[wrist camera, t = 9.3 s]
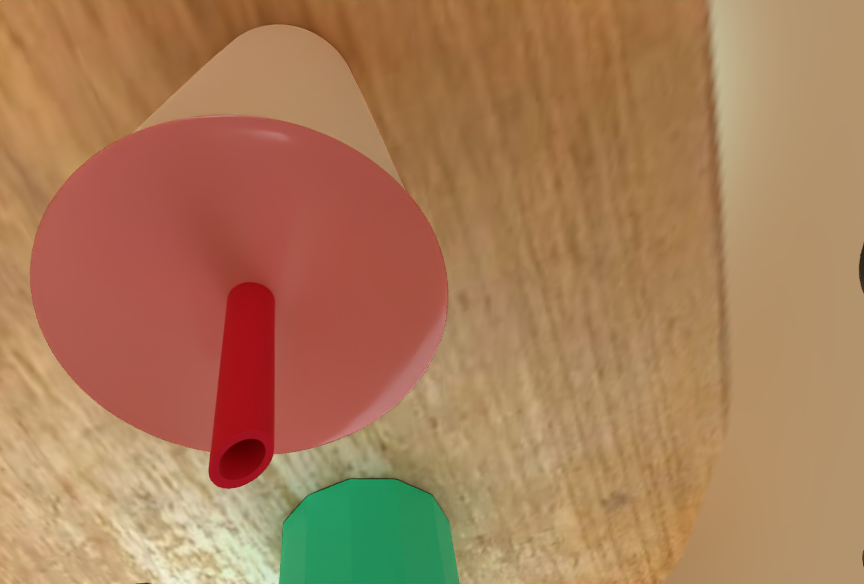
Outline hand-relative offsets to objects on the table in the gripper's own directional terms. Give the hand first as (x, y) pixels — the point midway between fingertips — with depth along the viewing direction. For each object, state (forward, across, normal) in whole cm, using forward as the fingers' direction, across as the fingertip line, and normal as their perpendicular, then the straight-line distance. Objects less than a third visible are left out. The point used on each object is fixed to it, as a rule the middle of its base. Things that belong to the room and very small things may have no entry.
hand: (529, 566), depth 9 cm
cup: (+12, +4, -2) cm, 13 cm away
